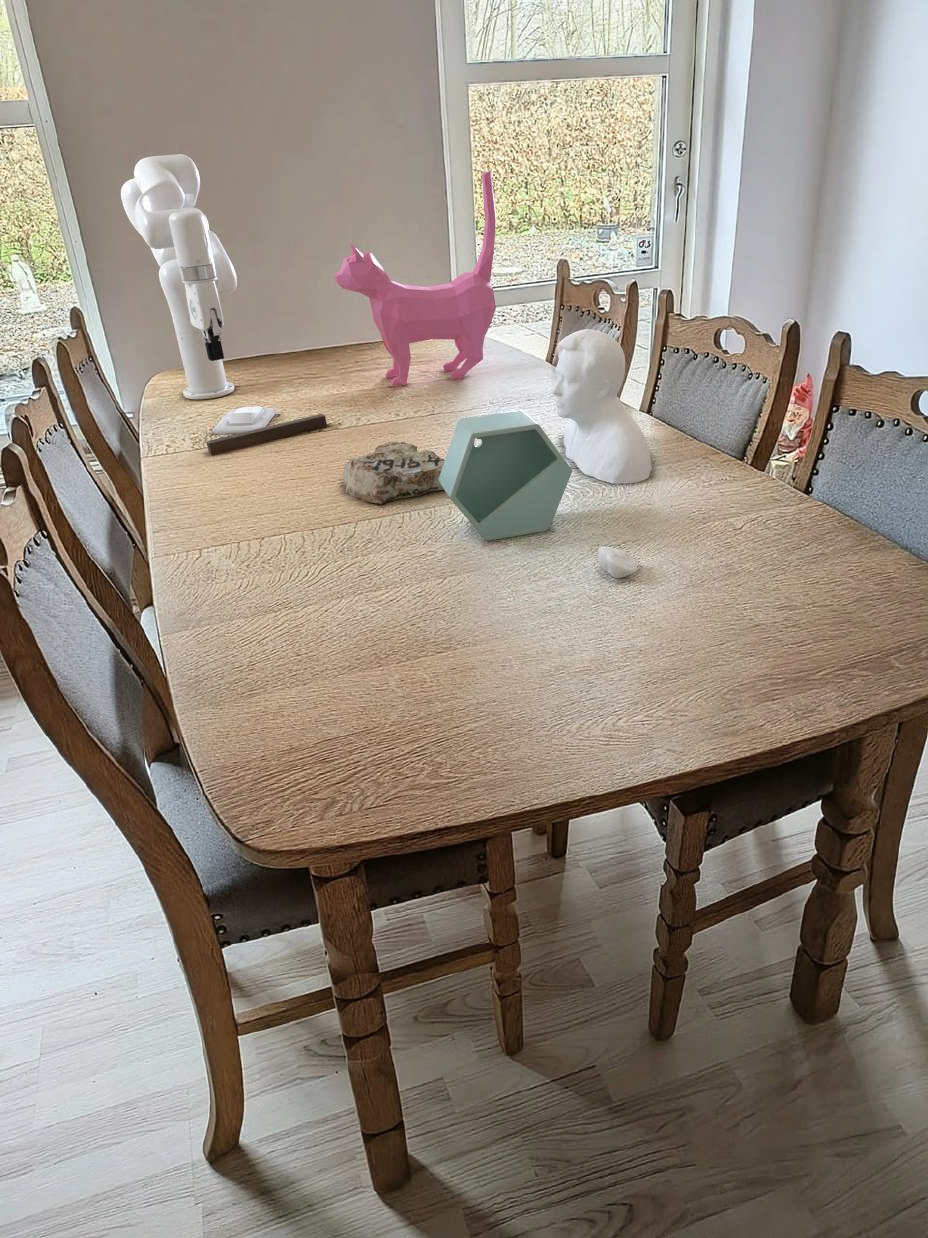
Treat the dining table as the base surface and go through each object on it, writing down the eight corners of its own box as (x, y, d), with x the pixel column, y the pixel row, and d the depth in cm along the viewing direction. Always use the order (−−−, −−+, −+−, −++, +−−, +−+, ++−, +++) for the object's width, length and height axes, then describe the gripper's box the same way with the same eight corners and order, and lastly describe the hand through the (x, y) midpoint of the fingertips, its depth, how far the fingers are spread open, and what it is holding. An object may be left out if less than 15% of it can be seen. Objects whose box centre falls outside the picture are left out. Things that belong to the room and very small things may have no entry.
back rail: (208, 452, 178) (206, 441, 176) (323, 424, 189) (321, 413, 188) (211, 455, 176) (209, 443, 175) (327, 426, 188) (325, 415, 186)
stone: (359, 483, 143) (319, 438, 162) (363, 515, 146) (323, 467, 165) (465, 462, 149) (414, 421, 168) (466, 493, 152) (416, 449, 171)
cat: (346, 381, 219) (320, 183, 196) (495, 362, 226) (487, 169, 203) (352, 394, 208) (325, 186, 185) (509, 374, 215) (502, 171, 192)
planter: (506, 564, 136) (427, 472, 125) (492, 544, 143) (416, 454, 132) (591, 495, 134) (517, 395, 123) (573, 478, 140) (502, 381, 129)
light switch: (209, 419, 186) (228, 398, 197) (213, 437, 189) (232, 415, 199) (257, 417, 185) (274, 396, 196) (261, 435, 187) (277, 414, 198)
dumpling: (588, 570, 124) (591, 543, 122) (621, 569, 125) (624, 543, 124) (610, 583, 117) (613, 554, 116) (644, 582, 119) (648, 554, 118)
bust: (520, 445, 170) (516, 321, 158) (605, 427, 175) (607, 306, 163) (591, 492, 147) (593, 352, 135) (686, 470, 153) (695, 334, 141)
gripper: (171, 273, 191) (190, 357, 200) (191, 279, 180) (210, 368, 189) (204, 268, 194) (221, 351, 203) (226, 274, 183) (243, 361, 192)
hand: (216, 359), depth 196 cm, fingers closed
